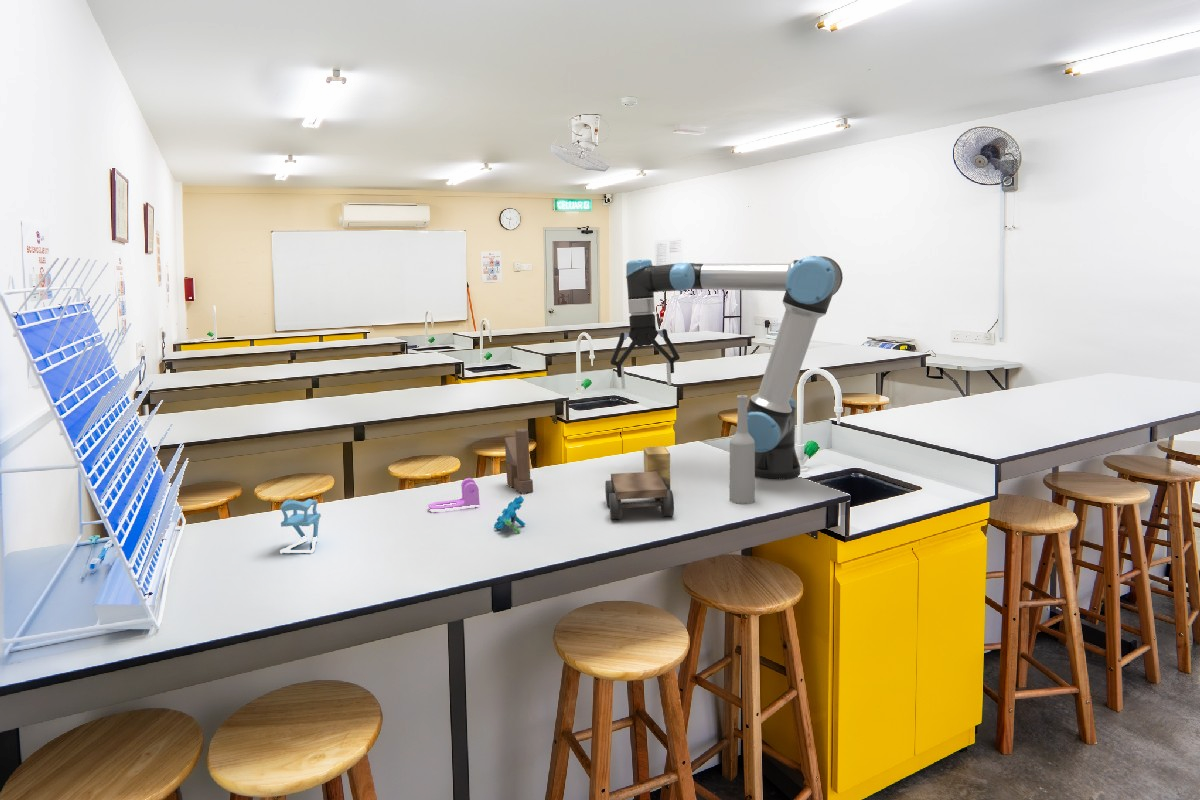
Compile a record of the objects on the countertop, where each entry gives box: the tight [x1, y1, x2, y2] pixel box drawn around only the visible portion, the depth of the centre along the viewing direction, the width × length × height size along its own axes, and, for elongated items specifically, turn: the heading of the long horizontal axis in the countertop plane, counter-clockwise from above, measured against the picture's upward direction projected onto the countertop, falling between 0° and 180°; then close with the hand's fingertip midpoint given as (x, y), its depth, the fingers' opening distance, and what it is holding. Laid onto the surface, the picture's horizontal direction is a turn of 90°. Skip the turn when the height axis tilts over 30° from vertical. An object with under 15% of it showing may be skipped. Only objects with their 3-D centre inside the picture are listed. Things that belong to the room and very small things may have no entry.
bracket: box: [427, 477, 481, 509], centre depth 195 cm, size 13×6×7 cm, turn 108°
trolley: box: [604, 471, 675, 520], centre depth 189 cm, size 15×17×8 cm
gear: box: [493, 495, 526, 533], centre depth 179 cm, size 11×6×10 cm
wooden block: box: [504, 427, 534, 494], centre depth 209 cm, size 4×11×18 cm, turn 30°
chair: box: [280, 498, 322, 538], centre depth 170 cm, size 8×8×12 cm
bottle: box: [728, 394, 756, 505], centre depth 192 cm, size 7×7×28 cm
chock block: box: [643, 445, 671, 490], centre depth 202 cm, size 6×8×12 cm
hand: (646, 386), depth 216 cm, fingers open, 13 cm apart
